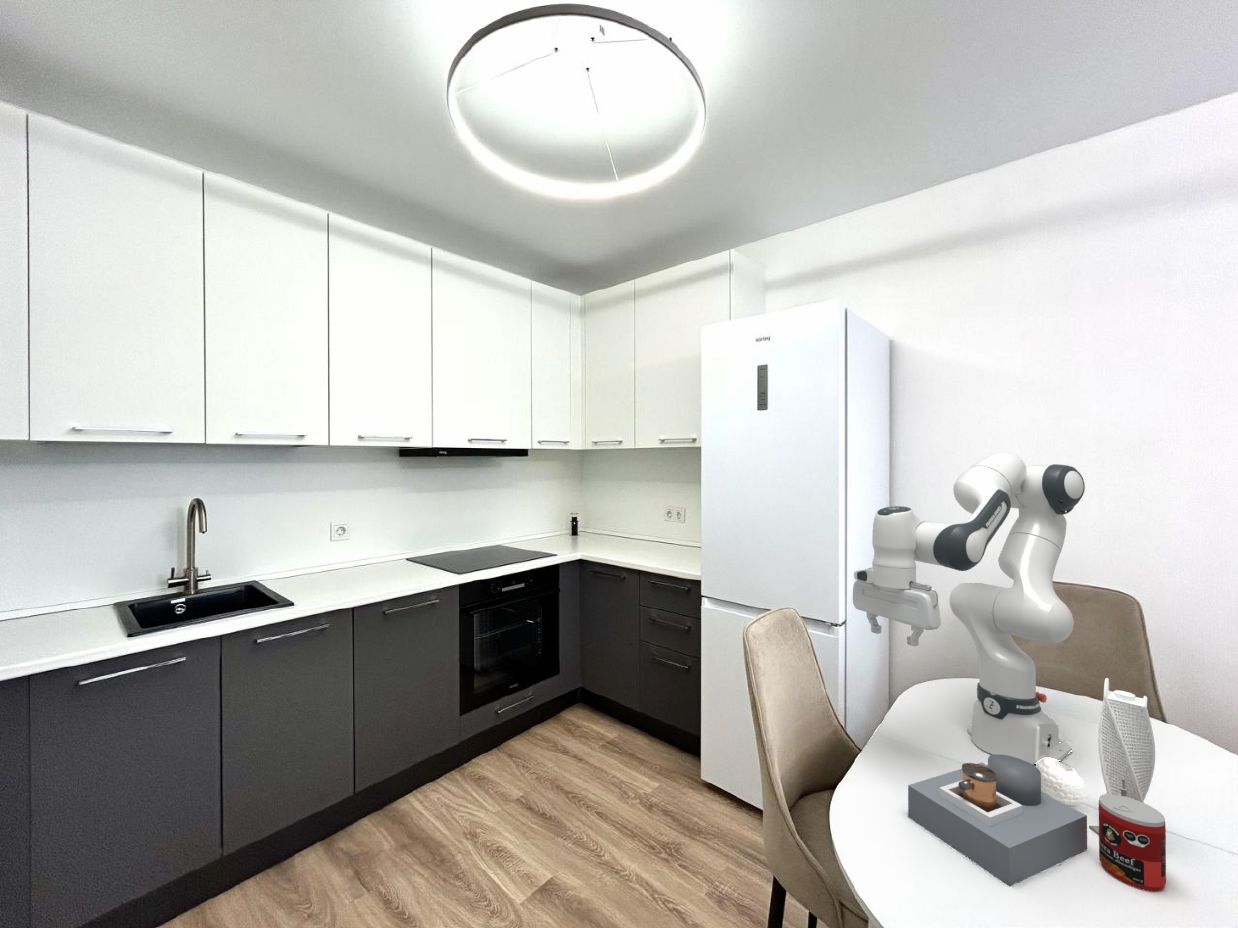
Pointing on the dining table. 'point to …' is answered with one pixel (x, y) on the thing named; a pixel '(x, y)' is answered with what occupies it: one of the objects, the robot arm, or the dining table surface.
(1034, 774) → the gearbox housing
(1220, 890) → the dining table surface
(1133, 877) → the canned food
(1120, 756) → the skyscraper
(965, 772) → the spout can
